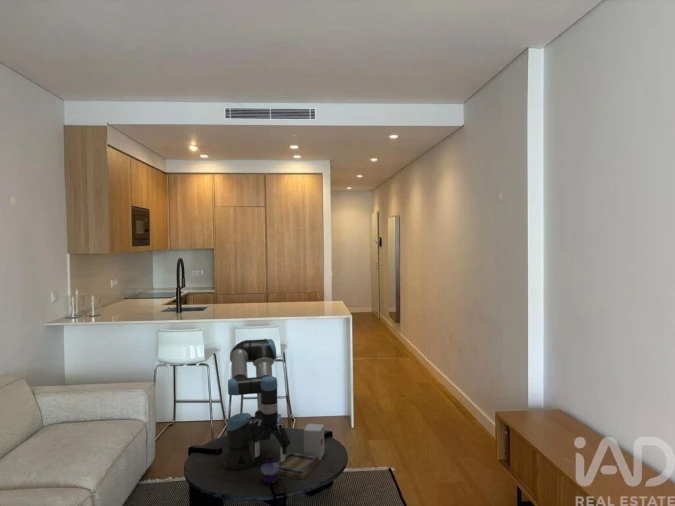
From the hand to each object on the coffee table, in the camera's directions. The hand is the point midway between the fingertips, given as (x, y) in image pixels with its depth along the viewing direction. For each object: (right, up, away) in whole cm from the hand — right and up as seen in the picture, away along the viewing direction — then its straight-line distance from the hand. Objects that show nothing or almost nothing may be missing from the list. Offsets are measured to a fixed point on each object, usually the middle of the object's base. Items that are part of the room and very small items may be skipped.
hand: (269, 458), depth 211 cm
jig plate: (+11, -11, +13) cm, 20 cm away
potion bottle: (0, -11, +1) cm, 11 cm away
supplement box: (+19, -11, +26) cm, 34 cm away
